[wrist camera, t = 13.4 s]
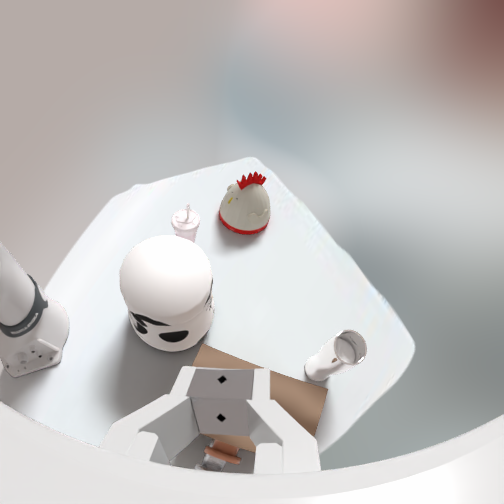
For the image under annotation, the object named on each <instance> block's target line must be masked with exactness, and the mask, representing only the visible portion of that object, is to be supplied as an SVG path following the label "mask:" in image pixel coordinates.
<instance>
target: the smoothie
mask: <svg viewBox="0 0 504 504" xmlns="http://www.w3.org/2000/svg"><path fill="white" fill-rule="evenodd" d="M199 224H200V217H199V215H198V214H197V213H196V212H195V211H193V210H190V209H189V203H188V204H187V209H182V210H179V211H177V212H176V213H175V214H174V215H173V216H172V226H173V228H174V230H175V234H176V236H178V237H181V238H184V239H187V240H190V241H191V242H193V243H194V241H195V237H196V232H197V228H198V227H199Z"/></svg>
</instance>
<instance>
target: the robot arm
mask: <svg viewBox="0 0 504 504" xmlns="http://www.w3.org/2000/svg"><path fill="white" fill-rule="evenodd" d="M68 332H69V319H68V315H67V312H66V310H65V309H64V307H63V306H62V305H61V304H60V303H58V302H57V301H55V300H52V299H50V298H49V297H48V296H46V295H45V293H44V291H43V290H42V289H41V287H40V286H39V285H38V284H37V283H36V282H35V281H34V280H33V278H32V277H31V276H29V275H28V274H26V273H25V271H24V270H23V269H22V267H21V266H20V265H19V263H18V262H17V260H16V259H15V258H14V256H13V255H12V254H11V253H10V252H8V251H7V249H6V248H5V247H4V246H3V244H2V243H1V242H0V358H1V361H2V363H3V366H4V367H5V369H6V371H7V372H8V373H9V374H10V375H11V376H12V377H14V378H15V377H19V376H22V375H25V374H28V373H31V372H34V371H37V370H40V369H43V368H46V367H49V366H52V365H55V364H58V363H59V362H60V361H61V357H62V348H63V346H64V344H65V342H66V339H67V336H68ZM51 358H52V361H51ZM8 366H9V368H8ZM199 433H202V434H219V435H234V436H250V439H251V440H252V442H253V443H254V445H255V446H256V455H255V466H254V474H245V473H226V472H214V471H204V470H196V469H189V468H182V467H176V466H171V464H170V462H169V461H170V460H172V459H173V458H174V457H175V456H176V455H177V454H179V453H180V452H181V451H182V450H183V449H184V448H185V447H186V446H188V445H189V444H190V443H191V442H192V441H193V440H194V439H195V438H196V437H197V436H199ZM0 504H504V414H503V415H501V416H499V417H497V418H495V419H494V420H492V421H490V422H488V423H486V424H484V425H482V426H480V427H478V428H475V429H473V430H471V431H469V432H467V433H464V434H462V435H460V436H457V437H455V438H452V439H450V440H447V441H445V442H442V443H439V444H437V445H434V446H431V447H428V448H425V449H422V450H419V451H416V452H412V453H409V454H405V455H402V456H399V457H394V458H391V459H387V460H383V461H378V462H373V463H368V464H363V465H358V466H352V467H346V468H340V469H333V470H325V471H321V467H320V460H319V453H318V446H317V440H316V439H315V438H314V437H313V436H312V435H311V434H310V433H308V432H307V431H306V430H305V429H304V428H303V427H302V426H301V425H300V424H299V423H298V422H297V421H296V420H295V419H293V418H292V417H291V416H290V415H289V414H288V413H287V412H286V411H285V410H284V409H283V408H282V407H281V406H280V405H279V404H278V403H277V402H276V401H275V400H270V369H269V368H260V369H222V368H206V367H191V366H183V367H182V368H181V370H180V372H179V375H178V377H177V379H176V381H175V383H174V385H173V388H172V390H171V392H170V394H165V395H163V396H161V397H160V398H158V399H156V400H154V401H153V402H151V403H149V404H147V405H146V406H144V407H142V408H140V409H138V410H136V411H135V412H133V413H131V414H129V415H127V416H125V417H124V418H122V419H120V420H118V421H116V422H114V423H113V424H112V425H111V427H110V429H109V430H108V432H107V434H106V435H105V437H104V439H103V440H102V442H101V444H100V446H99V447H97V446H94V445H91V444H88V443H85V442H83V441H80V440H77V439H75V438H72V437H70V436H67V435H65V434H63V433H60V432H58V431H56V430H53V429H51V428H49V427H47V426H45V425H43V424H41V423H39V422H37V421H35V420H33V419H31V418H29V417H27V416H25V415H23V414H21V413H20V412H18V411H16V410H14V409H12V408H11V407H9V406H7V405H6V404H4V403H2V402H1V401H0Z"/></svg>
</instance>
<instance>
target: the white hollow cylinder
mask: <svg viewBox="0 0 504 504" xmlns="http://www.w3.org/2000/svg"><path fill="white" fill-rule="evenodd" d="M366 352H367V346H366V343H365V340H364V339H363V337H362V336H361V335H360V334H359V333H358V332H356V331H353V330H344V331H341V332H340V333H339V334H337V335H335V336H334V337H332V338H331V339H329V340H328V341H327V342H326V343H325V344H324V345H323V346H322V348H321V349H320V351H319V352H318V354H316V355H313V356H311V357H310V358H309V359H308V360H307V361H306V364H305V372H306V374H307V376H308V377H309V378H310V379H312V380H314V381H323V380H325V379H327V378H328V377H329V376H330V375H336V374H341V373H344V372H346V371H348V370H350V369H352V368H353V367H355V366H356V365H357V364H359V363H361V362H362V361H363V360H364V358H365V356H366Z"/></svg>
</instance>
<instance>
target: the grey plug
mask: <svg viewBox="0 0 504 504" xmlns="http://www.w3.org/2000/svg"><path fill="white" fill-rule="evenodd" d="M214 441H215V439H212V441H211V443H210V445H209V447H212V446H213V444H214ZM225 463H226V461H224V460H221V459H218V458H215V457H213V456H211V455H208V454H206V455H205V457H204V459H203V461H202V464H199V463H196V465H195V467H194V469H196V470H204V471H214V472H222V470H223V468H224V465H225Z"/></svg>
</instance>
